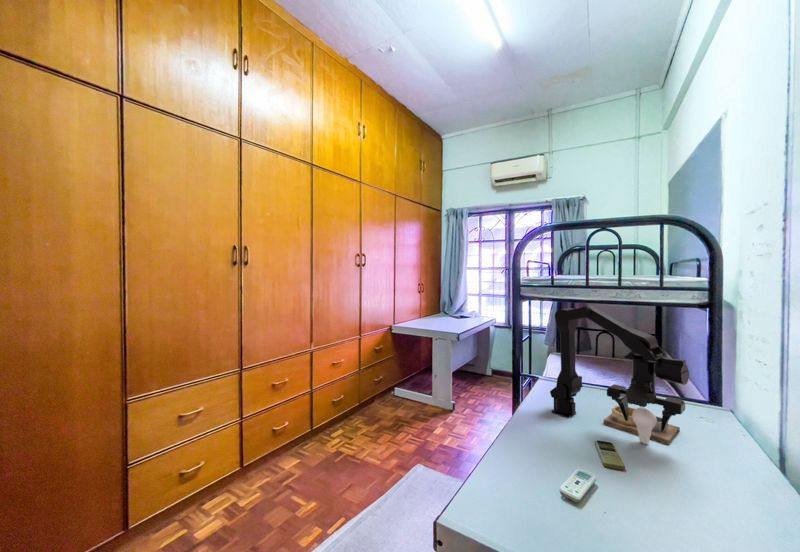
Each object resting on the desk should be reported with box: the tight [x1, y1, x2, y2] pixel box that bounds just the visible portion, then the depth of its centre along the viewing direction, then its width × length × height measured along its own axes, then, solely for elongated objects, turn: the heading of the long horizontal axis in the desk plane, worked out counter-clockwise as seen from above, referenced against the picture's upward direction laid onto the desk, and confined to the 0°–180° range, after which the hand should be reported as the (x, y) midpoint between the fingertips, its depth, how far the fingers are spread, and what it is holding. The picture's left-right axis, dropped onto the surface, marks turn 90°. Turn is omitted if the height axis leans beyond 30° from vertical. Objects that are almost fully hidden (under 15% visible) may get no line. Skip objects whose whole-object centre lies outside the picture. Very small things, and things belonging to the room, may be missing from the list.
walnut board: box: [603, 413, 681, 446], centre depth 110 cm, size 18×13×2 cm
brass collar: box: [611, 405, 636, 426], centre depth 112 cm, size 9×9×3 cm
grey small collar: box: [652, 415, 669, 432], centre depth 106 cm, size 5×5×3 cm
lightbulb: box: [632, 406, 657, 445], centre depth 100 cm, size 6×6×11 cm
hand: (644, 425), depth 100 cm, fingers open, 9 cm apart
